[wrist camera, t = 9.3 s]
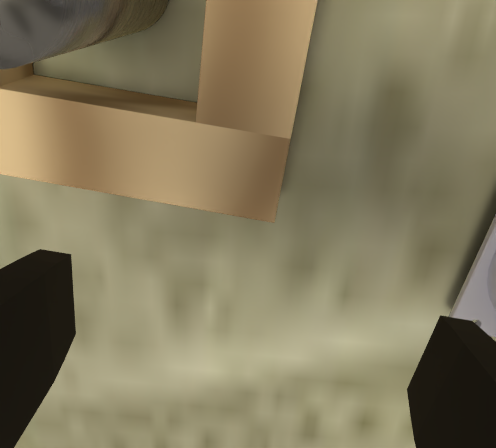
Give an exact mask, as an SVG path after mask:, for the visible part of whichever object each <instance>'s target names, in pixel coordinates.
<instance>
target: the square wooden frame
mask: <svg viewBox="0 0 496 448" xmlns="http://www.w3.org/2000/svg"><path fill="white" fill-rule="evenodd" d="M316 6H317V0H206V10H205V22H204V33H203V44H202V56H201V67H200V79H199V90H198V102H197V103H196V102H190V101H184V100H178V99H172V98H167V97H161V96H155V95H149V94H143V93H137V92H132V91H126V90H120V89H114V88H108V87H102V86H96V85H91V84H85V83H79V82H73V81H67V80H61V79H56V78H50V77H44V76H38V75H33V64H32V63H30V64H26V65H23V66H19V67H16V68H10V69H0V174H3V175H9V176H15V177H20V178H26V179H31V180H37V181H43V182H48V183H54V184H59V185H65V186H71V187H76V188H82V189H88V190H93V191H99V192H104V193H110V194H116V195H121V196H127V197H132V198H138V199H144V200H149V201H155V202H160V203H166V204H172V205H177V206H183V207H189V208H194V209H200V210H205V211H211V212H217V213H222V214H228V215H233V216H239V217H245V218H250V219H256V220H261V221H267V222H273V223H274V222H275V217H276V212H277V206H278V201H279V196H280V191H281V186H282V181H283V175H284V170H285V165H286V160H287V155H288V150H289V145H290V139H291V134H292V129H293V124H294V119H295V114H296V109H297V103H298V98H299V93H300V88H301V83H302V78H303V73H304V67H305V62H306V57H307V52H308V47H309V42H310V36H311V31H312V26H313V21H314V16H315V11H316Z"/></svg>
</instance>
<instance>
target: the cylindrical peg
mask: <svg viewBox="0 0 496 448" xmlns="http://www.w3.org/2000/svg"><path fill="white" fill-rule="evenodd" d="M168 2H169V0H0V69H10V68H16V67H19V66H23V65H26V64H30V63H33V62H36V61H40V60H43V59H47V58H50V57H54V56H57V55H61V54H64V53H67V52H71V51H74V50H78V49H81V48H85V47H88V46H92V45H95V44H98V43H102V42H105V41H109V40H112V39H116V38H119V37H122V36H126V35H129V34H133V33H136V32H140V31H142V30H145V29H147V28H149V27H150V26H152V25H153V24H154V23H156V22H157V20H158V19H159V18H160V17H161V16H162V14H163V13H164V11H165V9H166V7H167V4H168Z"/></svg>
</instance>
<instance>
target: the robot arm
mask: <svg viewBox="0 0 496 448" xmlns="http://www.w3.org/2000/svg"><path fill="white" fill-rule="evenodd" d="M472 320H477V321H476V322H475V323H474V322H473V321H472ZM75 334H76V330H75V313H74V297H73V280H72V263H71V254H65V253H59V252H53V251H47V250H41V249H40V250H37V251H35V252H33V253H31V254H29V255H27V256H25V257H23V258H21V259H19V260H17V261H15V262H13V263H11V264H9V265H7V266H5V267H3V268H2V269H0V448H14V447H15V445H16V443H17V442H18V440H19V439H20V437H21V435H22V434H23V432H24V430H25V429H26V427H27V426H28V424H29V422H30V421H31V419H32V417H33V416H34V414H35V412H36V411H37V409H38V408H39V406H40V404H41V403H42V401H43V399H44V398H45V396H46V394H47V393H48V391H49V389H50V388H51V386H52V384H53V383H54V381H55V379H56V377H57V375H58V372H59V370H60V368H61V366H62V364H63V362H64V360H65V357H66V355H67V353H68V351H69V348H70V346H71V344H72V341H73V339H74V337H75ZM490 336H491V337H496V215H495V217H494V219H493V221H492V223H491V226H490V228H489V230H488V232H487V234H486V236H485V239H484V241H483V243H482V245H481V247H480V249H479V252H478V254H477V256H476V258H475V260H474V262H473V265H472V267H471V269H470V271H469V273H468V276H467V278H466V280H465V282H464V284H463V286H462V289H461V291H460V293H459V295H458V297H457V299H456V302H455V304H454V306H453V308H452V310H451V312H450V315H449V317H446V316H440V318H439V320H438V322H437V324H436V326H435V329H434V331H433V333H432V335H431V338H430V340H429V342H428V344H427V346H426V349H425V351H424V353H423V355H422V357H421V360H420V362H419V364H418V366H417V368H416V371H415V373H414V375H413V377H412V380H411V382H410V384H409V386H408V388H407V392H408V400H409V407H410V415H411V422H412V428H413V434H414V441H415V444H416V448H496V342H495V341H494V340H493V339H492V338H491V337H490Z"/></svg>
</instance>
